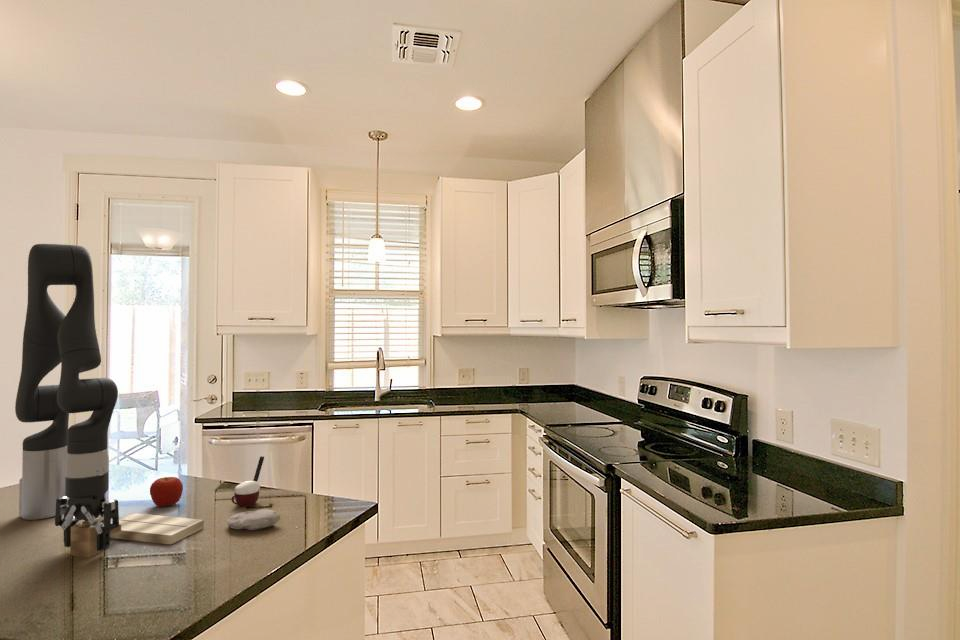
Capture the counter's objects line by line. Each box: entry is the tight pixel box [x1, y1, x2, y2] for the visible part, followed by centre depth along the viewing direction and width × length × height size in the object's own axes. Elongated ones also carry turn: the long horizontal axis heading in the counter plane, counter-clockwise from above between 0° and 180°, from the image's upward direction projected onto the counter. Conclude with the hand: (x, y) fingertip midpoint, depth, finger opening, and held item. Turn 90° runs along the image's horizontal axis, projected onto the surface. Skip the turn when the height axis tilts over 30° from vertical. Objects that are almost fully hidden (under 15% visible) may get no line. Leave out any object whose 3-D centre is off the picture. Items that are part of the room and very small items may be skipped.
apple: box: [149, 476, 184, 508], centre depth 146 cm, size 8×8×8 cm
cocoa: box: [231, 455, 265, 507], centre depth 147 cm, size 10×6×12 cm, turn 127°
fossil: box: [226, 508, 281, 531], centre depth 131 cm, size 12×4×10 cm
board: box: [110, 512, 205, 545], centre depth 127 cm, size 20×10×2 cm, turn 77°
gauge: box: [69, 520, 121, 558], centre depth 118 cm, size 5×9×7 cm, turn 167°
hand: (86, 547), depth 115 cm, fingers open, 8 cm apart
